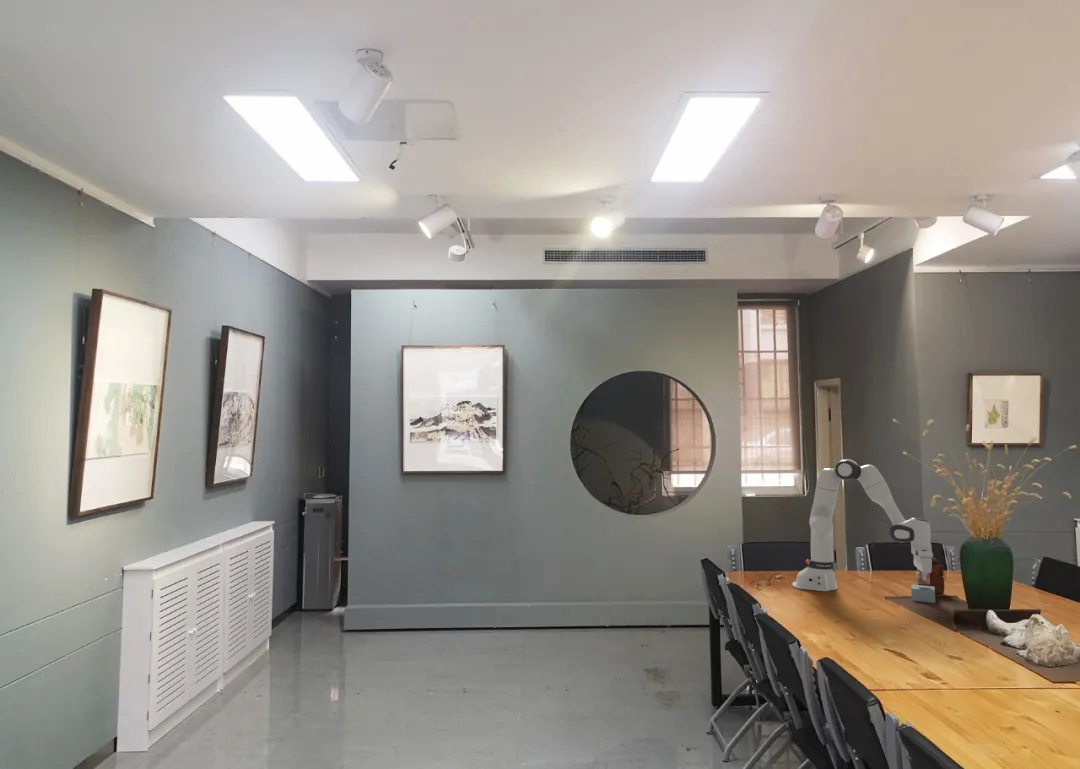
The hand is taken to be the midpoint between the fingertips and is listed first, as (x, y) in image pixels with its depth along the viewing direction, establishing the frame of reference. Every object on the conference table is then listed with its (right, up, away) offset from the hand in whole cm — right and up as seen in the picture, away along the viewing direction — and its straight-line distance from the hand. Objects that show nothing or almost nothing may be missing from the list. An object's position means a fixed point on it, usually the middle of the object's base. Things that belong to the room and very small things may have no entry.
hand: (922, 578), depth 328 cm
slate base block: (0, -10, -1) cm, 10 cm away
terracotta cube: (0, -2, 0) cm, 2 cm away
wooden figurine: (+12, -11, +13) cm, 21 cm away
